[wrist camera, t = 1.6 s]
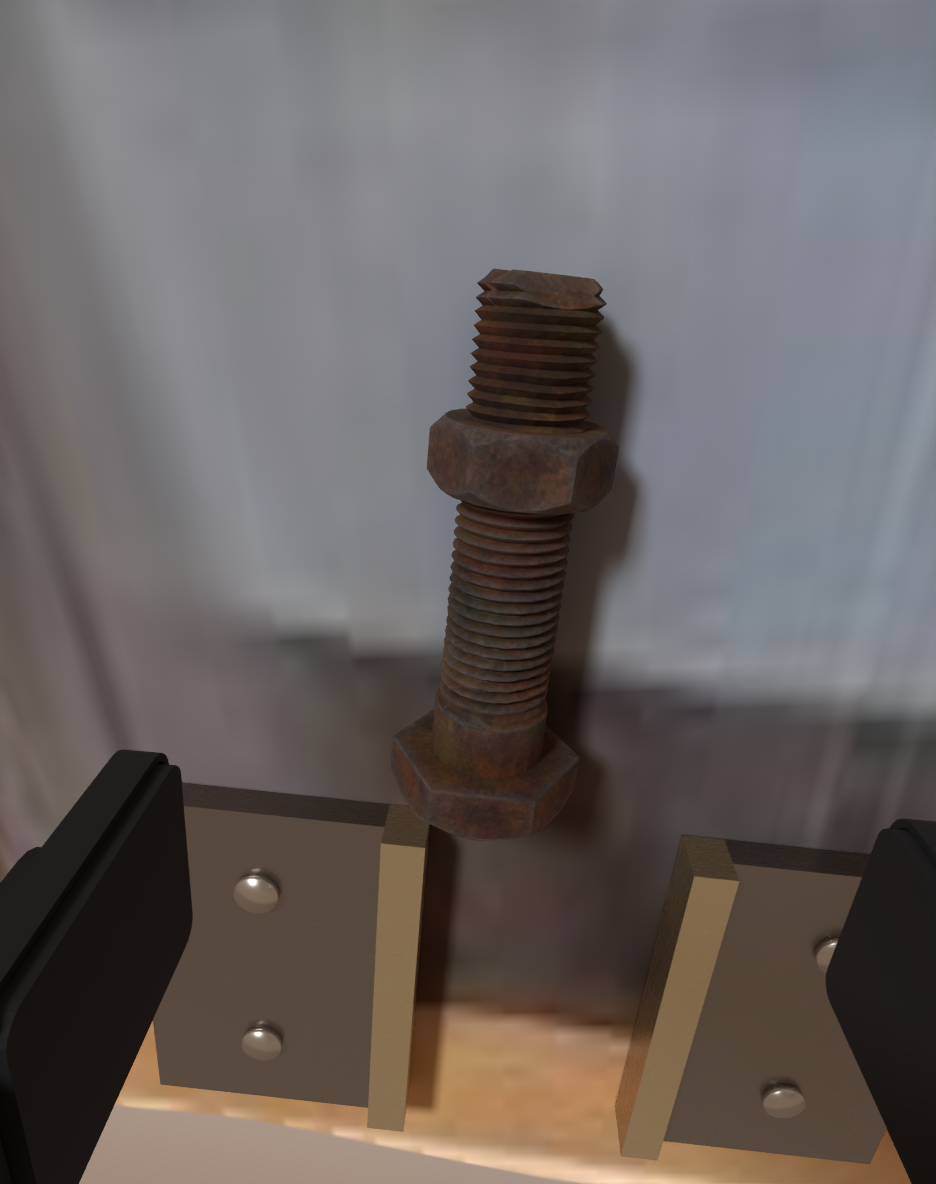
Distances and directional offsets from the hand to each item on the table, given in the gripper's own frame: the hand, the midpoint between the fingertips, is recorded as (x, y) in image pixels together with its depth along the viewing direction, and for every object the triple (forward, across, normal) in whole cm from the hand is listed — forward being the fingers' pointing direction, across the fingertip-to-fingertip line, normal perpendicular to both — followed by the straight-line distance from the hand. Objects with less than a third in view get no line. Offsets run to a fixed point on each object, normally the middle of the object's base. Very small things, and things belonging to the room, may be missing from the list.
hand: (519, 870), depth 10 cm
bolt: (+14, 0, 0) cm, 14 cm away
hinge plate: (+14, -3, +18) cm, 23 cm away
